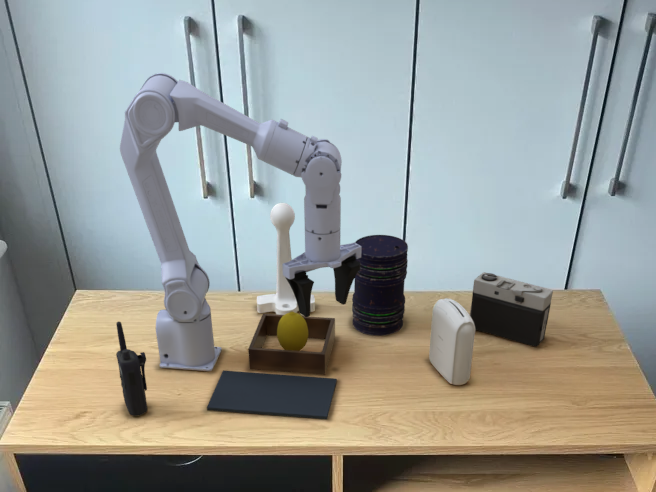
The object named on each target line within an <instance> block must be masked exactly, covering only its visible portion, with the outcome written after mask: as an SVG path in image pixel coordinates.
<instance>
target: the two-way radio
mask: <svg viewBox="0 0 656 492" xmlns="http://www.w3.org/2000/svg"><path fill="white" fill-rule="evenodd" d="M116 331H117V338H118V344H119V350H117V351H116V355H115V357H116V360H117V365H118V372H119V379H120V385H121V388H122V395H123V400H124V404H125V407H126V409H127V412H128V414H129V415H130V416H132V417H140V416H143V415H144V414H145V413H146V412H147V411H148V403H147V396H146V391H148V387H147V386H148V385H147V380H146V372H145V371H146V370H145V369H146V368H145V367H146V362H147V356H146V353H145V352H144V351H141V352H139V354H137V353H136V352H135V351H134V350H131V349H129V348H127V343H126V337H125V333H124V328H123V324H122V322H121V321H117V322H116Z"/></svg>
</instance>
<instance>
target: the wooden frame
mask: <svg viewBox="0 0 656 492" xmlns="http://www.w3.org/2000/svg"><path fill="white" fill-rule="evenodd" d="M282 316H284V315H278V314H276V313H262V314H261V317H260V319H259V322H258V324H257V327H256V329H255V332H254V334H253V337H252V339H251V341H250V343H249V345H248V349H247V352H248V353H247V355H248V365H249V367H248V369H249V370H250V371H260V372H261V371H262V372H278V373H288V374H289V373H291V374H305V375H306V374H307V375H319V376H326V373H327V369H328V365H329V362H330V357H331V355H332V350H333V347H334V344H335V340H336V317H321V316H308V317H305V316H304V315H301V316H302V317H303V318H304V319H305V321H306V323H307V327H308V339H316V340H324V342H323V346H322V349H321V351H311V350H310V351H307V350H300V351H296V350H284V349H279V348H266V347H265V348H264V347H263V346H264V344H265V341H266V340H267V337H268V336H272V337H273V336H274V337H277V328H278V323H279V321H280V319H281V318H282Z"/></svg>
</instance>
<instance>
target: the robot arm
mask: <svg viewBox="0 0 656 492" xmlns="http://www.w3.org/2000/svg"><path fill="white" fill-rule="evenodd" d="M144 81H145V82H144V83H143V85H142V86H141V88H140V89H139V91H138V92H137V93H136V94H135V95H134V97H133V98H132V100H131V101H130V103H129V104H128V105H127V107H126V109H125V110H124V122H123V127H122V132H121V138H120V142H119V143H120V144H119V152H120V156H121V158H122V161H123V164H124V166H125V169H126V172H127V175H128V178H129V180H130V183H131V185H132V189H133V192H134V194H135V197H136V199H137V203H138V205H139V208H140V211H141V214H142V216H143V219H144V221H145V224H146V227H147V230H148V232H149V235H150V237H151V241H152V243H153V246H154V248H155V252H156V254H157V257H158V259H159V262H160V267H161V268H160V271H161V285H162V287H163V290H164V298H163V305H164V309H159V311H158V312H157V314H156V319H155V335H156V341H157V349H158V355H159V361H160V362H159V368H161V369H174V370H190V371H202V372H203V371H204V372H212V371H213V370H214V368H215V366H216V363H217V361H218V358H219V357H220V356H221V352H222V350H223V349H222V347H221V346H215V340H214V339H215V338H214V328H213V319H212V309H211V306H210V304H209V303H208V301H207V299H206V295H207V294H208V292H209V290H210V286H211V285H210V278H209V275H208V273H207V272H206V271H205V269H204V268H203V267H202V266H201V265H200V263H199V261H198V259H197V256H196V255H195V254H194V253H193V251H191V250H190V248H189V245H188V242H187V239H186V236H185V233H184V230H183V228H182V224H181V221H180V218H179V215H178V212H177V209H176V206H175V204H174V200H173V198H172V195H171V191H170V189H169V188H170V187H169V186H168V183H167V180H166V176H165V174H164V171H163V168H162V165H161V163H160V159H159V156H158V153H157V149H158V147H159V145H160V143H161V141H162V140H163V139H164V138H165V137H166V136H167V135H168V134H169V133H171V131H172V130H173V128H174V125H175V123H178V132H183V131H186V130H190V129H192V128H196V127H199V126H201V127H205V128H206V129H210V130H212V131H214V132H217V133H218V134H221V135H224V136H226V137H228V138H231V139H234V140H236V141H237V142H241V143H243V144H245V145H248V146H250V147H252V149H253V150H254V153H255V155H256V158H257V159H258V160H260V161H262V162H264V163H266V164H267V165H270V166H272V167H274V168H276V169H279V170H281V171H283V172H284V173H287V174H289V175H291V176H293V177H295V178H301V180H302V183H303V184H304V187H305V194H304V198H303V209H304V210H303V213H304V215H303V217H304V252H303V253H301V254H299V255H297V256H296V257H294V258H292V260H291V261H289V262H287V263H284V264H282V266H283V276H285V278H286V279H287V281H288V283H289V284H290V286H291V288H292V290H293V293H294V295H295V298H296V301H297V304H298V308H299V311H298V312H299V314H300V315H301V316H305V317H311V312H310V299H311V294H312V290H313V287H314V283H315V281H314V280H312V279H310V278H309V275H308V274H307V273H309V272H311V271H316V270H318V269H324V268H330V269H332V270H333V276H334V296H335V297H334V298H335V302H337V303H339V304H340V305H347V301H348V297H349V293H350V289H351V287H352V285H353V283H354V281H355V276H356V275H357V273H358V271H359V270H360V262H358V261H356V259H358V258H361V246H360V245H358V244H356V243H355V242H351V243H345V244H341V220H342V219H341V218H342V217H341V213H342V208H341V207H342V197H341V195H340V193H341V184H340V183H341V180H342V173H341V172H342V162H343V161H342V156H341V153H340V151H339V148H338V147H337V146H336V145H335V144H333V142H331V141H330V140H329V139H327V138H318V137H316V136H315V135H311V136H310V137H309V136H308V135H305V134H303V133H301V132H299V131H297V130H295V129H294V128H291V127H289V121H287V120H285V119H283V118H280V119H279V121H277V120H275V119H269V120H266V121H264V122H259V121H257V120H255V119H253V118H251V117H250V116H247V115H246V114H244V113H243V112H240V111H239V110H237V109H235V108H233V107H232V106H229V105H228V104H226V103H224V102H222V101H220V100H219V99H217V98H215V97H214V96H211V95H209V94H208V93H206V92H205V91H203V90H201V89H199V88H197V87H196V86H195V85H193V84H191V83H189V82H188V81H185V80H181V79H179V80H177V79H176V78H175V76H172V75H170V74H168V73H166V72H157V73H154V74H152V75H150V76H148V77H147V79H146V80H144Z"/></svg>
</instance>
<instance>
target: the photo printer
mask: <svg viewBox="0 0 656 492" xmlns="http://www.w3.org/2000/svg"><path fill="white" fill-rule="evenodd" d="M431 312H432V313H431V314H432V315H431V324H430V325H431V326H430V340H429V351H428V358H429V362H430V364H432V366H433V368H434V369H435V370H436V371H437V372H438V373H439V374H440V376H442V377H443V378H444V379H445V380H446V381H447V382H448V383H449V384H450V385H453V386H461V385H465V384H467V383H468V381H470V378H471V374H472V373H471V372H472V362H473V355H474V354H473V353H474V345H475V338H476V337H475V336H476V330H475V325H474V322H473V320H472V318H471V316H470V312H468V311H467V309H466V308H465V307H464V306H463V305H462V304H461V303H459V302H458V301H457V300H454V299H452V298H449V297H445V298H440V299H438V300H437V301H436V302H435V303H434V306H433V307H432V311H431Z"/></svg>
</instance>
